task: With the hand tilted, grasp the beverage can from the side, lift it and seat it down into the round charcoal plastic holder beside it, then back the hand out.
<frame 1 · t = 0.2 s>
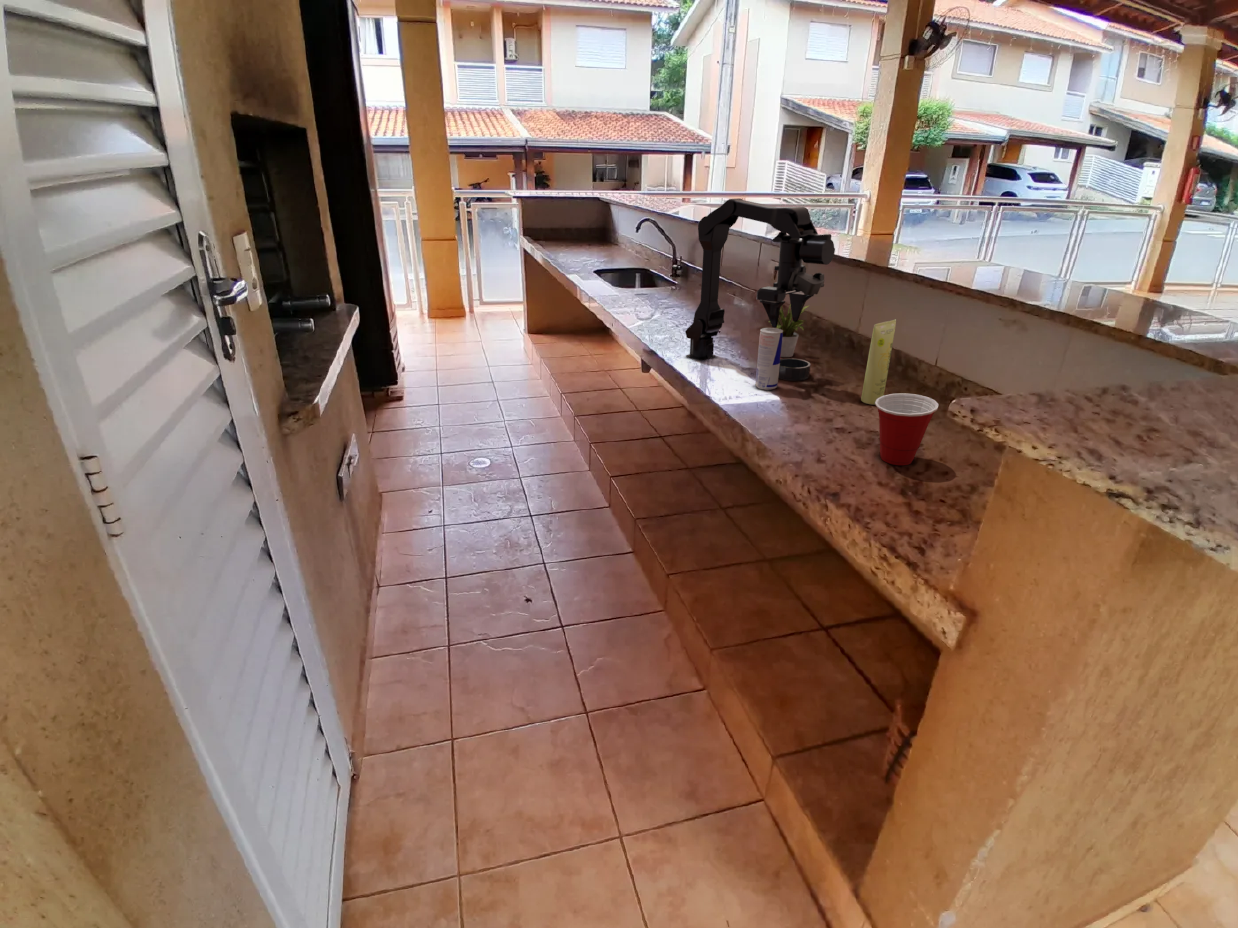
hand: (785, 324, 159), 15 cm above the countertop, tool pointing down, fingers open, 9 cm apart
plastic cup: (894, 460, 120), on the countertop
can holder: (791, 375, 168), on the countertop
beverage can: (766, 387, 159), on the countertop
tube: (870, 402, 149), on the countertop
house plant: (779, 355, 186), on the countertop
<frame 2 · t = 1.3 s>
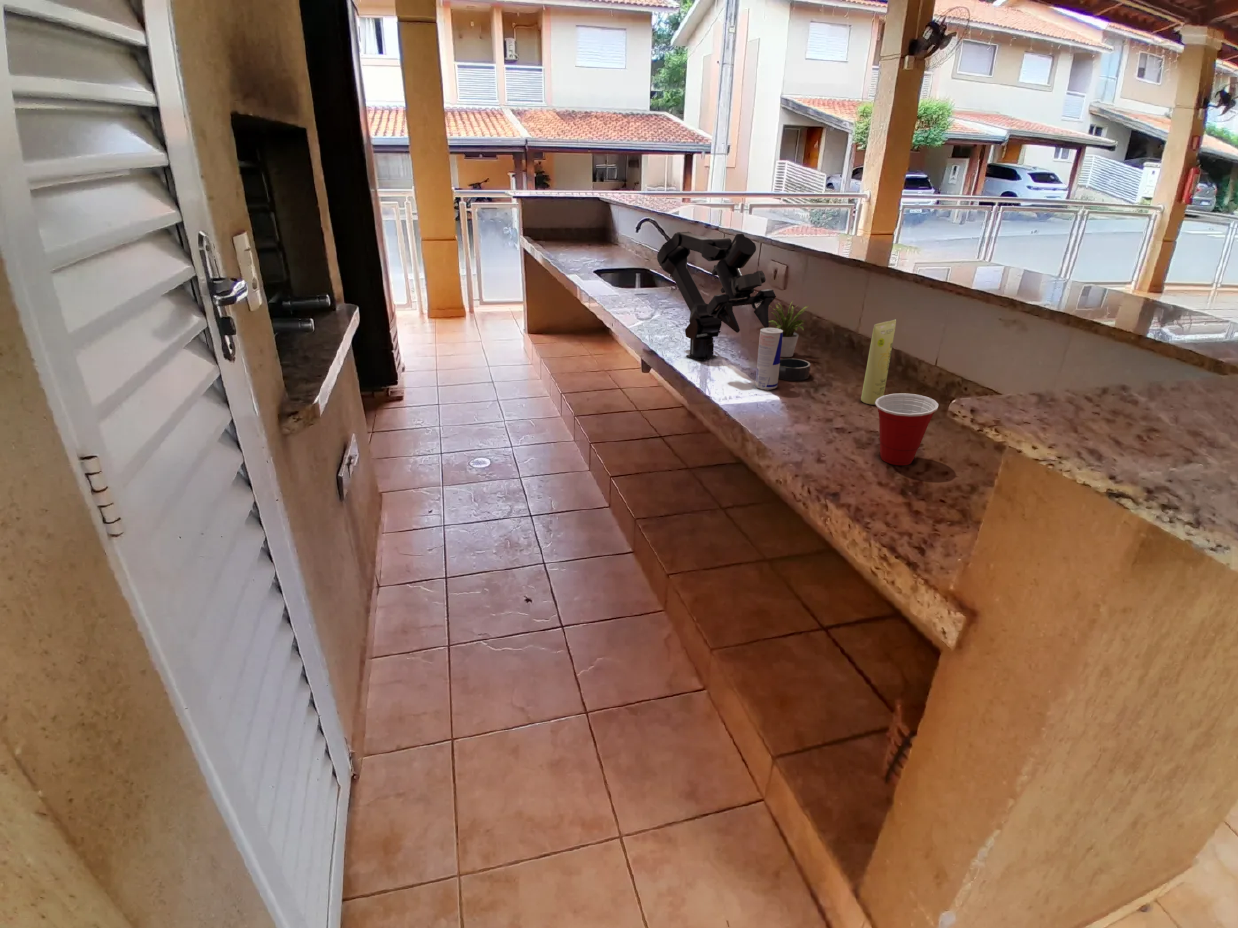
hand: (753, 329, 160), 13 cm above the countertop, tool tilted 45°, fingers open, 9 cm apart
nothing on the countertop moved.
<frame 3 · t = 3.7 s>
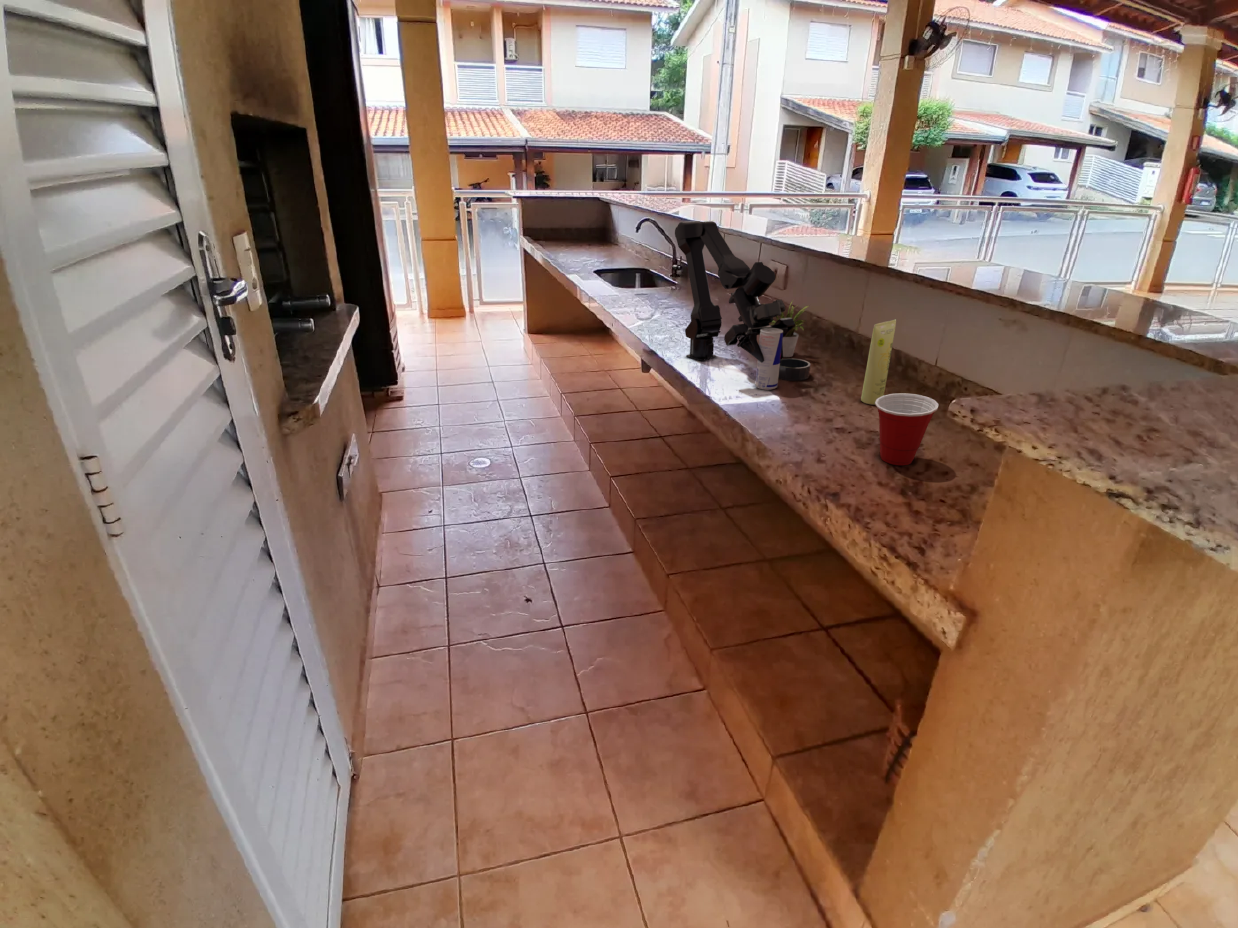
hand: (772, 360, 155), 8 cm above the countertop, tool tilted 45°, fingers closed on beverage can, 5 cm apart
beverage can: (766, 388, 159), on the countertop, touching gripper
everything else where it was.
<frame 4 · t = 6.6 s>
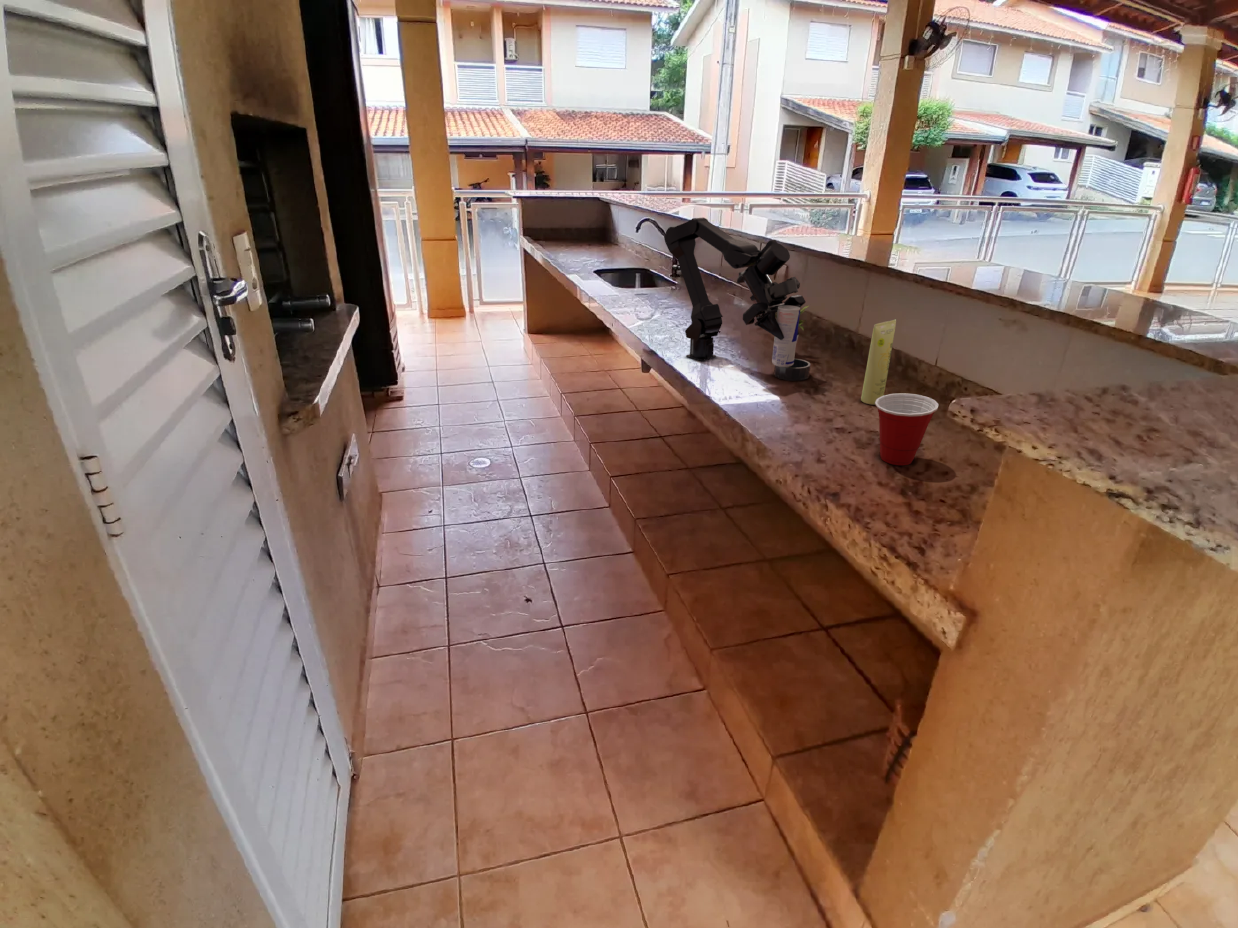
hand: (790, 337, 157), 12 cm above the countertop, tool tilted 45°, fingers closed on beverage can, 5 cm apart
beverage can: (782, 365, 161), point 4 cm above the countertop, touching gripper
everything else where it was.
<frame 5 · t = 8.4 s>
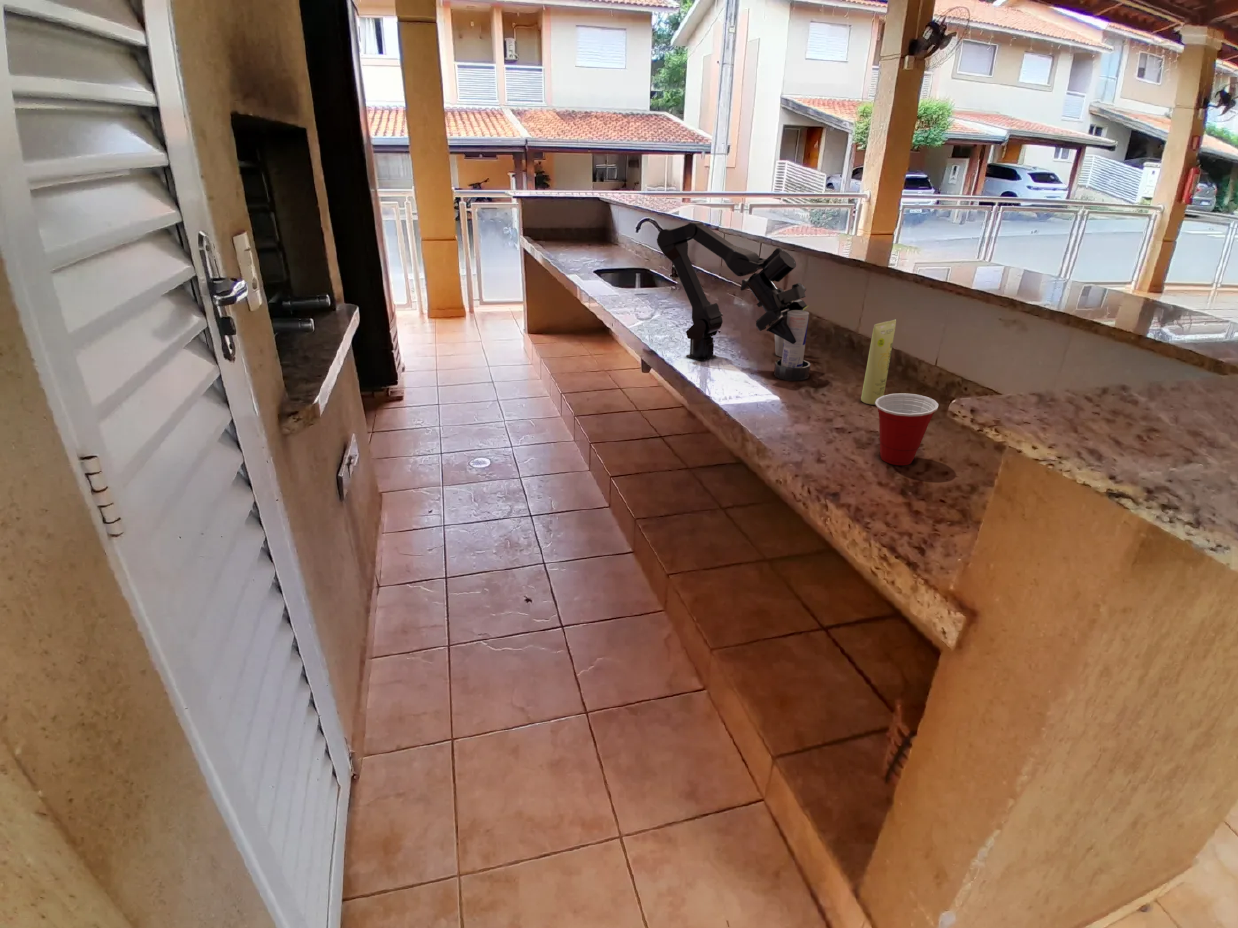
hand: (799, 340, 163), 10 cm above the countertop, tool tilted 45°, fingers closed on beverage can, 5 cm apart
beverage can: (791, 367, 167), point 2 cm above the countertop, touching gripper
everything else where it was.
when the fingers open (8 cm above the countertop, at t = 9.5 s): beverage can stays where it is, resting on can holder.
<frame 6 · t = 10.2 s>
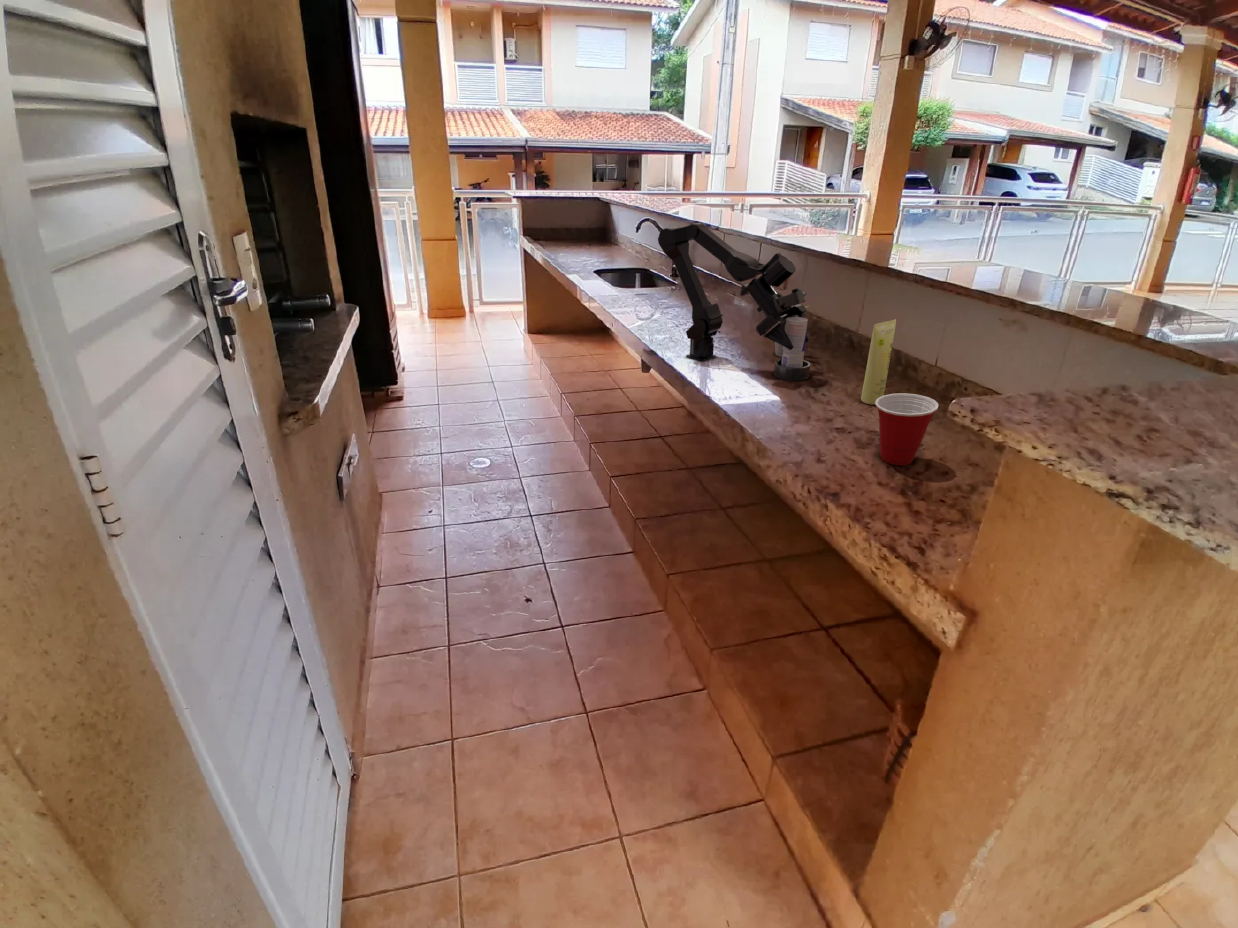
hand: (799, 345, 163), 9 cm above the countertop, tool tilted 45°, fingers open, 9 cm apart
beverage can: (790, 374, 168), resting on can holder
everything else where it was.
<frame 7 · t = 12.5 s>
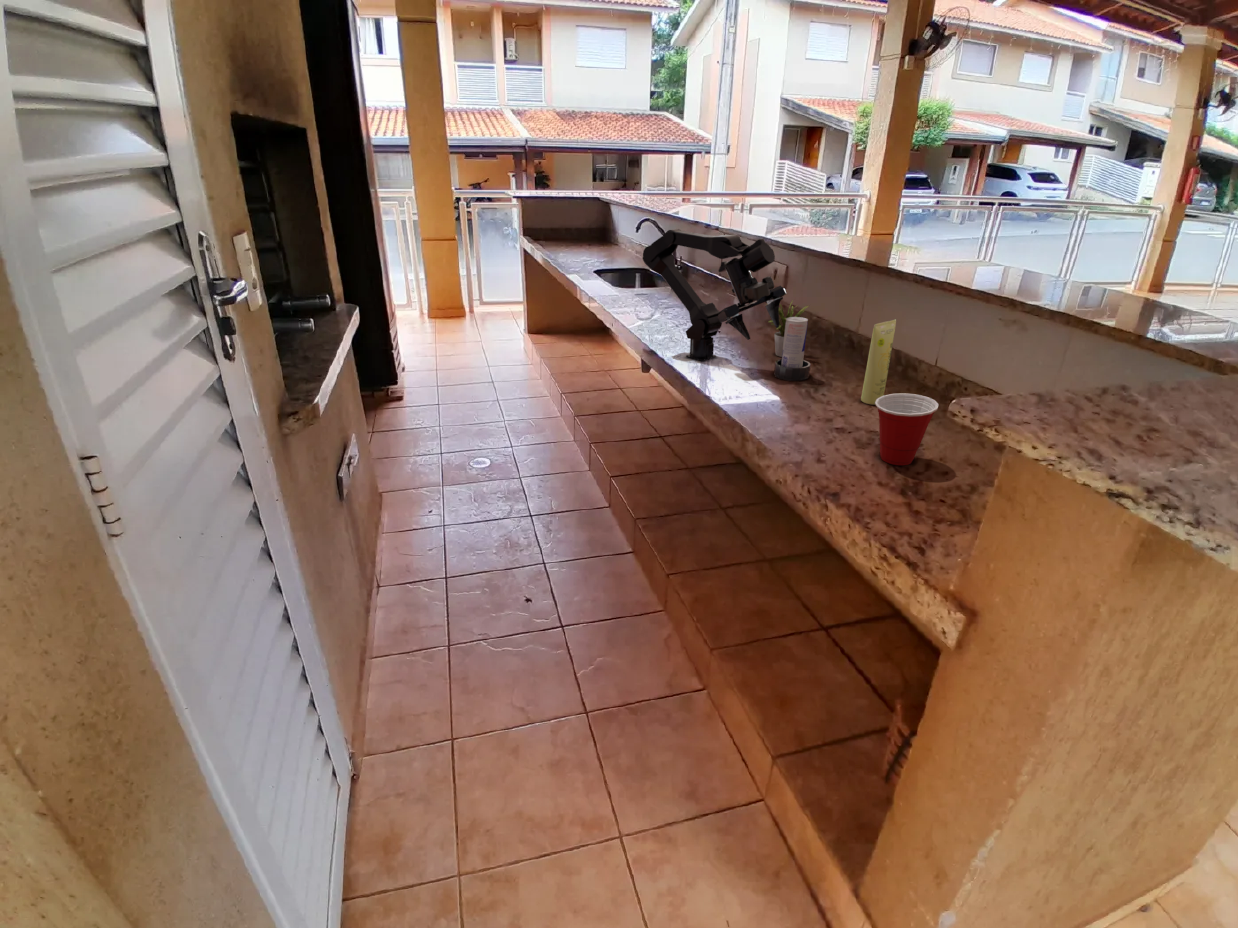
hand: (763, 333, 168), 10 cm above the countertop, tool tilted 30°, fingers open, 9 cm apart
nothing on the countertop moved.
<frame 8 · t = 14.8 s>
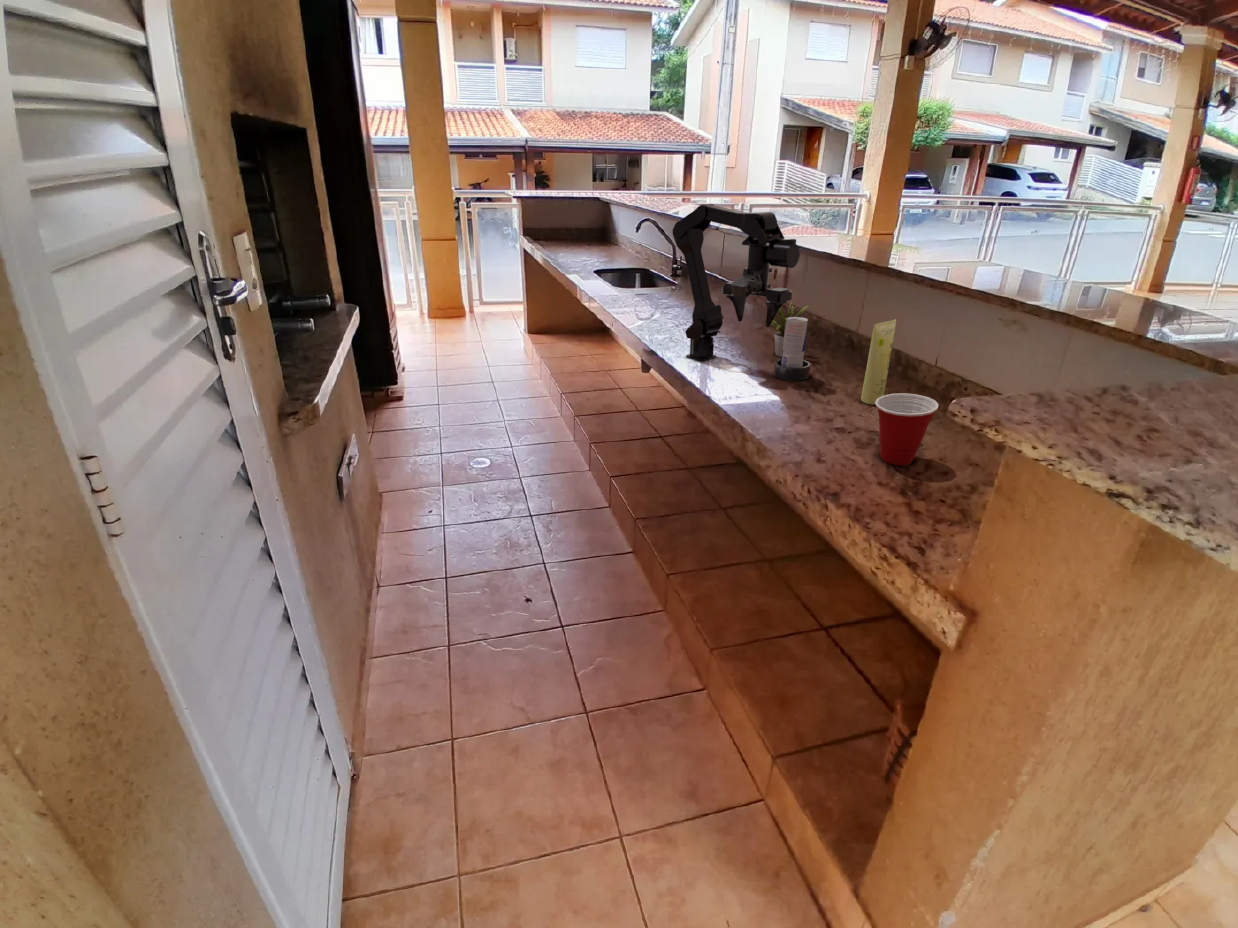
hand: (753, 324, 167), 13 cm above the countertop, tool pointing down, fingers open, 9 cm apart
nothing on the countertop moved.
at the end: beverage can 0.2 cm off-centre in the can holder, point 0.3 cm above the can holder's base; beverage can tilted 0°; the gripper is holding nothing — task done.
